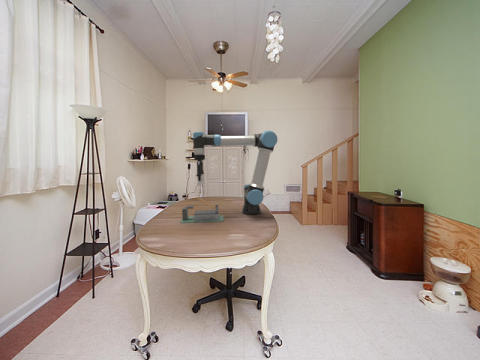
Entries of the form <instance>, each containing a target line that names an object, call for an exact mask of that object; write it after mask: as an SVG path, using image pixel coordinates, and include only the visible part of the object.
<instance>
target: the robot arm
mask: <svg viewBox="0 0 480 360" xmlns="http://www.w3.org/2000/svg"><path fill="white" fill-rule="evenodd" d="M192 143H193V145H192V146H193V149H192V151H193V154H194V155H193V158H194V160H195V161H197V162H196V176H195V177H197V187H201V186H203V184H204V181H205V180H204V175H205V172H204V169H203V168H204V166H203V165H204V163H203V161H205V160H206V155H205V154H206V152H205V151H206V149H205V147H206V146H211V147H233V146H237V147H238V146H239V147H241V146H242V147H243V146H249V147H250V146H252V147H254V148H256V147H257V150H258V152H257V158H256V162H255V166H254V171H253V175H252V179H251V182H250V183H249V184H245V185H244V186H243V192H244V193H243V197H244V199H243V200H244V202H243V206H242V211H241V212H242V214H244V215H247V216H255V215H260V214H261V213H262V211H261V206H260V204H262V202H263V201H264V191H265V187H264V182H265V178H266V174H267V170H268V165H269V162H270V157H271V153H273V152H274V149H275V146H276V145H277V144H278V136H277V134H276V133H275V132H274V131H272V130H265V131H263V132H262V133H257V134H256V133H255V134H252V135H221V134H217V133H216V134H205V133H204V132H203V131H194V132H192Z"/></svg>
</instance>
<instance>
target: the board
mask: <svg viewBox="0 0 480 360" xmlns="http://www.w3.org/2000/svg"><path fill="white" fill-rule="evenodd" d="M180 220H181V221H179V223H180V224H186V223H187V224H188V223H189V224H190V223H214V222H215V223H216V222H218V223H219V222H224V215H223V214H221V215H220V214H219V220H214V221H194V215H191V216H190V215H188V219H187V220H183V218H182V219H180Z"/></svg>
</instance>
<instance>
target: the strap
mask: <svg viewBox="0 0 480 360" xmlns="http://www.w3.org/2000/svg"><path fill="white" fill-rule="evenodd" d="M197 199H198V200H199V201H201V202H202V203H204V204H206V205H207V206H209V207H210V208H212V210H216V209H215V207H216V206H214V205H213V204H211V203H210V202H208V201H206V200H205V199H203V198H201V197H200V196H198V198H197Z"/></svg>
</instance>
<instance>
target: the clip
mask: <svg viewBox="0 0 480 360" xmlns="http://www.w3.org/2000/svg"><path fill="white" fill-rule="evenodd" d="M194 207H195V205H187V206H184V207H182V208H181V213H182V214H181V215H182V219H183V220H187V219H188V217H189V210H192V209H194Z"/></svg>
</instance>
